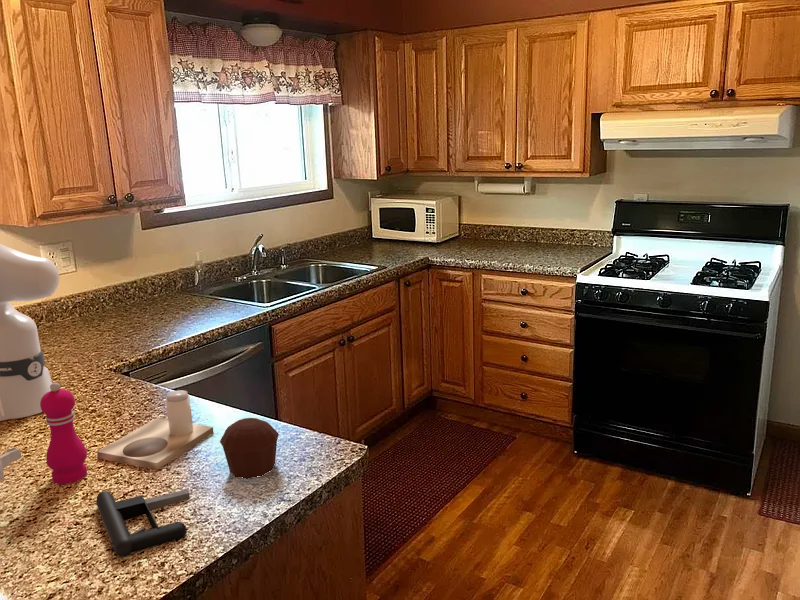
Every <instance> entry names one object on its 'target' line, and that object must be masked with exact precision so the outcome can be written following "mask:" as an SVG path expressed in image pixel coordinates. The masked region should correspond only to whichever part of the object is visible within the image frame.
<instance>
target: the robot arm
mask: <svg viewBox="0 0 800 600" xmlns="http://www.w3.org/2000/svg"><path fill="white" fill-rule="evenodd" d="M59 283H60V274H59V269H58V268H57V266H56V265H55V263H54V261H52V260H51V259H50V258H47V257H42V256H37V255H32V254H29V253H26V252H23V251H21V250H17V249H15V248H12V247H9V246H7V245H4V244H2V243H0V422H2V421H6V420H15V419H23V418H25V417H30V416H33V415H37V414H41V413H43V412H42V410H41V407H40V402H41V399H42V397H43V396H44V395H45V394H46V393H47V392H49V391H51V389H50V385H51V384H52V383H53V382H52V378H51V375H50V372H49V369H48V367H46V366H45V364H46V361H45V354H44V352H43V350H42V349H41V344H40V338H39V334H38V332H39V331H38V328H37V324H36V321H34V320H33V318H32V317H30V316H28V315H26V314H24V313H22V312H20V311H18V310H17V309H16V307H14V306H13V305H12V304H11V303H12V302H30V301H36V300H40V299H44V298H49V297H51V296H52V295H53V294H54V293H55V292H56V290H57V289H58V287H59ZM20 459H22V451H21V450H20V449H19V448H17V447H13V448H10V449H8V450H6V452H5V453H3V454H2V455H0V482H2V481H3V480H4V478H5V474H4V470H5V469H6V468H7V466H9V465H11V464H12V463H13V462H15V461H18V460H20Z"/></svg>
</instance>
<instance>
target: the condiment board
mask: <svg viewBox="0 0 800 600" xmlns="http://www.w3.org/2000/svg"><path fill="white" fill-rule="evenodd" d="M213 434H214V426H209V425H203V424H196V423H193V432H192V433H190V434H188V435H185V436H180V437H175V436H171V435H170V430H169V422H168V418H167V419H165V418H160V417H156V418H154V419H153V420H151V421H148V423H146V424H144V425H142V426H140V427H138V428H137V429H134V430H133V431H131V432H129V433H128V434H126V435H124V436H123V437H121V438H118V439H117V440H115V441H113V442H112V443H110V444H108V445H106V446H105V447H103V448H101V449H99V450H97V451H96V454H97V459H100V460H106V461H111V462H115V463H121V464H127V465H131V466H137V467H141V468H146V469H152V470H156V471H158V470H159V469H162V468H163V467H164V466H166V465H167V464H169V463H170V462H172V461H174V460H175V459H176V458H178V457H179V456H181V455H182V453H183V454H184V453H186V452H187V451H189V450H190V449H192V448H193V447H195V446H196V445H198V444H199V443H201V442H202V441H204V440H205V439H206V438H208V437H211V435H213ZM203 439H204V440H203ZM200 441H201V442H200ZM197 443H198V444H197ZM191 447H192V448H191ZM188 449H189V450H188Z"/></svg>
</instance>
